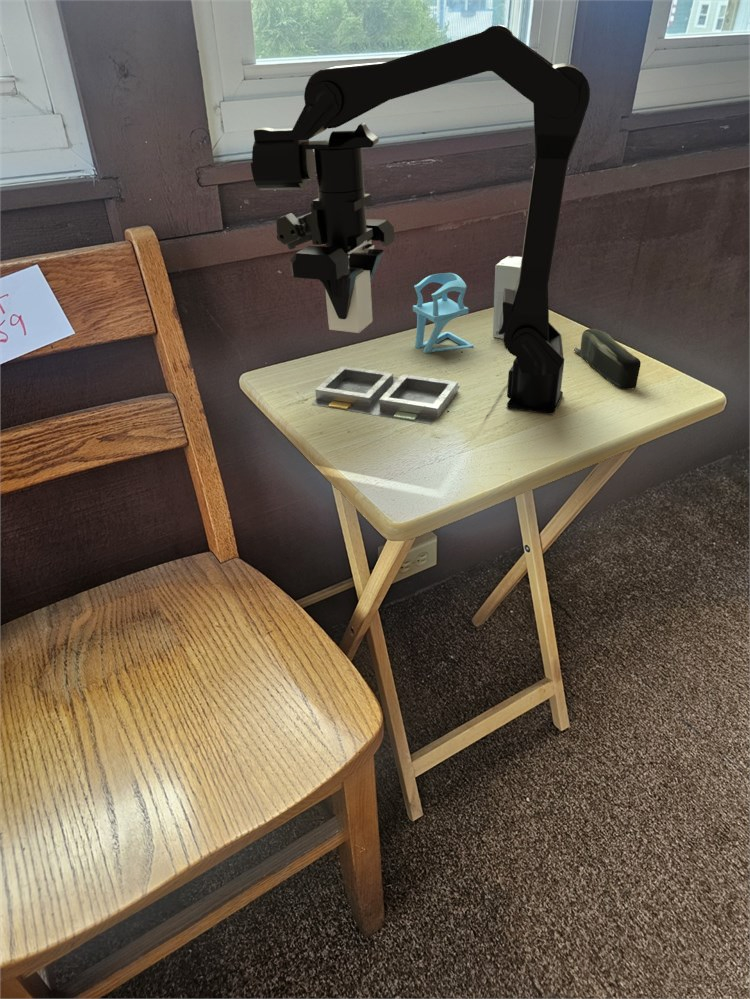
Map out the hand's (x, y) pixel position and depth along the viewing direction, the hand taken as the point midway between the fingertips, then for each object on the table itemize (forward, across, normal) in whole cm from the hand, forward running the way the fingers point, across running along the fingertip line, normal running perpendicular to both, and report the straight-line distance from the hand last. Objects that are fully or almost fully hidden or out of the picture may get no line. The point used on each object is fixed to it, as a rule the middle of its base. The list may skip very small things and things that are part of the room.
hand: (350, 312), depth 91 cm
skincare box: (+13, -30, +15) cm, 36 cm away
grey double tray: (+12, 0, +5) cm, 13 cm away
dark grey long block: (+13, -20, +32) cm, 40 cm away
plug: (+2, 0, 0) cm, 2 cm away
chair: (+13, -20, +6) cm, 24 cm away
